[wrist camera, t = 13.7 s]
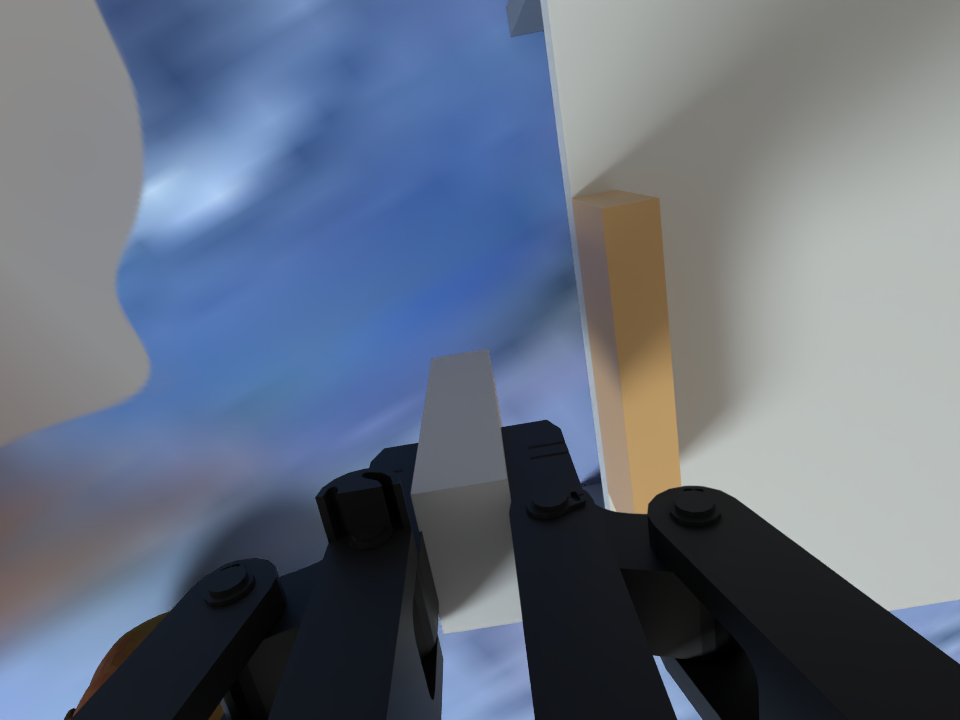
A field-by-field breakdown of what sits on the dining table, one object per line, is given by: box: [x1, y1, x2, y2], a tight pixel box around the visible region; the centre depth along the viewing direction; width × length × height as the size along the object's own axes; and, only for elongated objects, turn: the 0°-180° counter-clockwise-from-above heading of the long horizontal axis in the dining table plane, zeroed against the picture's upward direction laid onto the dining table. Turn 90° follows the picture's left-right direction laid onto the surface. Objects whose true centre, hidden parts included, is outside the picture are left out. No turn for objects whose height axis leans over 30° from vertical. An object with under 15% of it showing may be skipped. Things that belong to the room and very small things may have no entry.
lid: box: [540, 0, 960, 611], centre depth 15 cm, size 22×17×4 cm
